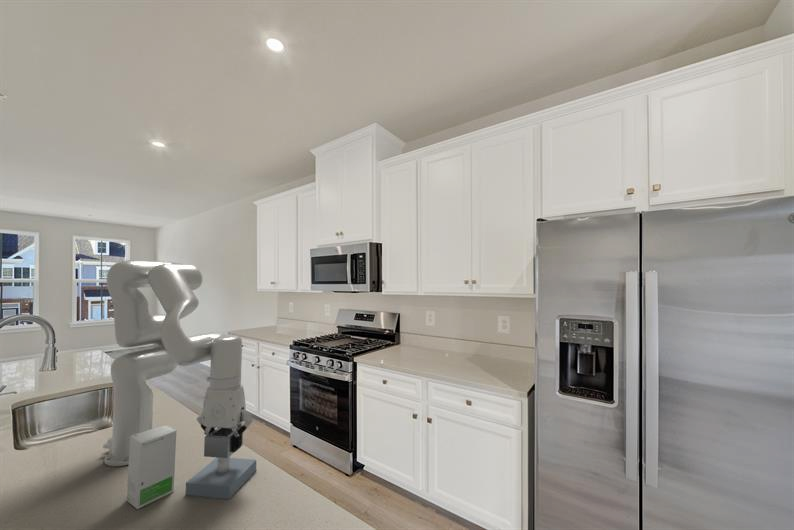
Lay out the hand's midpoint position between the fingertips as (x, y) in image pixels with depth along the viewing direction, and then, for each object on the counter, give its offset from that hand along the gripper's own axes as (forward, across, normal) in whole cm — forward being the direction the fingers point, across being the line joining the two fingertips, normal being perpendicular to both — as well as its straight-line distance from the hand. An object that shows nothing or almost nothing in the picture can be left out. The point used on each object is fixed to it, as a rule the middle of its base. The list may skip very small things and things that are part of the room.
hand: (224, 448), depth 87 cm
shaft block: (+9, 0, 0) cm, 9 cm away
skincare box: (+9, -14, -8) cm, 19 cm away
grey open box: (+1, 0, 0) cm, 1 cm away
